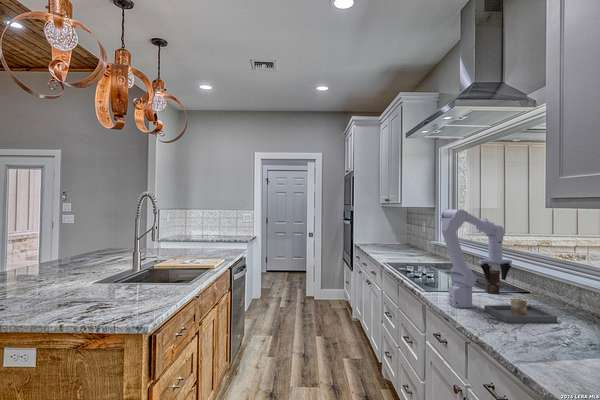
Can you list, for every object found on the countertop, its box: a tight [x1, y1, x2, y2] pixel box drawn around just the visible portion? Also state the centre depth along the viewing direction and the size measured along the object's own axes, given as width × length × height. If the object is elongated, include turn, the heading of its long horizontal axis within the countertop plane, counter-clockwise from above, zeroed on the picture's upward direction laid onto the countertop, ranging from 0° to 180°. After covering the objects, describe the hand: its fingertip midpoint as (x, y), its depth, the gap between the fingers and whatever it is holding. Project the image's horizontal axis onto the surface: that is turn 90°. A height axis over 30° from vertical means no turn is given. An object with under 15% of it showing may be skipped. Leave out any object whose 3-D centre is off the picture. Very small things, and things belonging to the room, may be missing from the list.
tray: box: [484, 304, 558, 324], centre depth 150 cm, size 20×16×2 cm
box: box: [484, 268, 501, 294], centre depth 191 cm, size 6×4×12 cm
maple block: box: [510, 298, 528, 316], centre depth 150 cm, size 4×4×6 cm
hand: (495, 279), depth 173 cm, fingers open, 7 cm apart
